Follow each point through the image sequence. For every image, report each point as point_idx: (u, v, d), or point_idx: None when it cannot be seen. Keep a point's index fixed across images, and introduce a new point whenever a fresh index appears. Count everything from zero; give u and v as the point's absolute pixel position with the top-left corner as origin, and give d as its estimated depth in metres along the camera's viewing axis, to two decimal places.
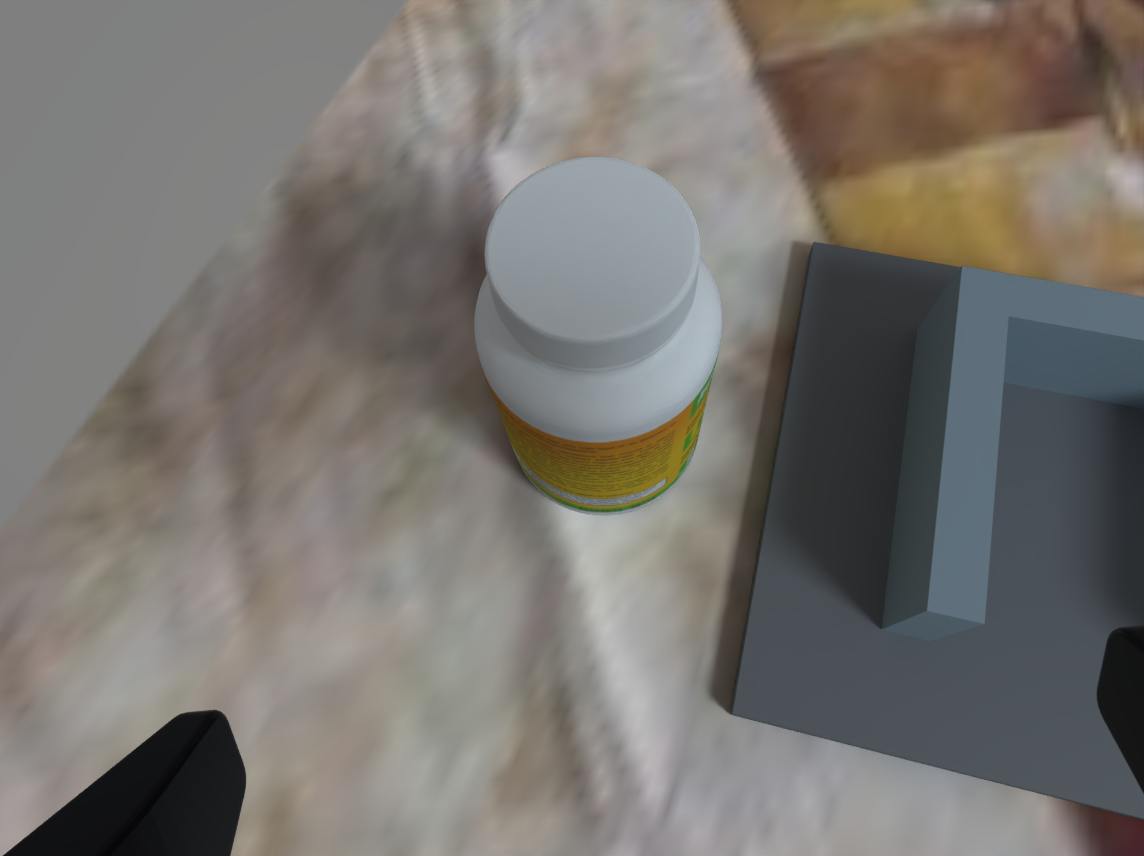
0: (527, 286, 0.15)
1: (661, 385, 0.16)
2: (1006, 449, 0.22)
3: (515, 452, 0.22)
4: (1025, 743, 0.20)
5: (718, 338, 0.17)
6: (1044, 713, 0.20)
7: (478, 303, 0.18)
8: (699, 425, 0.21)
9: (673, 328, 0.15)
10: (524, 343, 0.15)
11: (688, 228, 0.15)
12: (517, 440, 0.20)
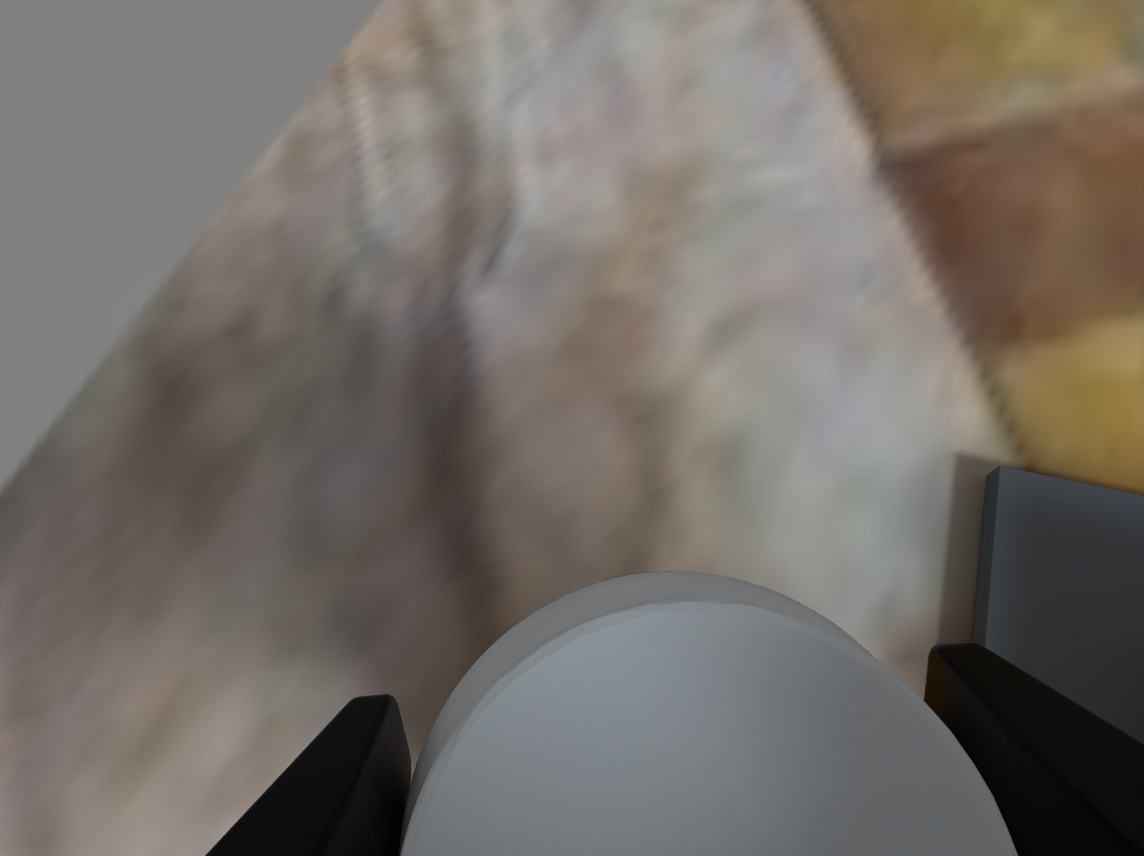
0: None
1: None
2: None
3: None
4: None
5: None
6: None
7: (406, 830, 0.08)
8: None
9: None
10: None
11: None
12: None
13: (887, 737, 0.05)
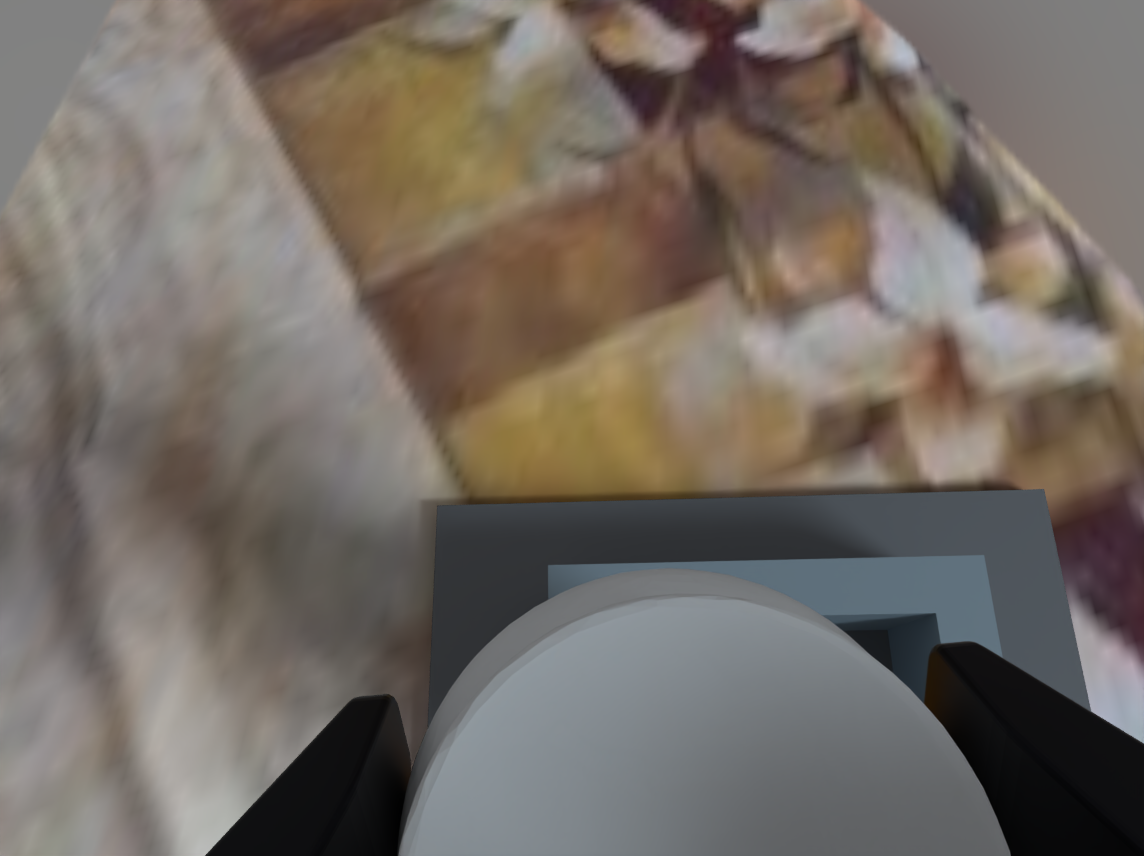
0: None
1: None
2: None
3: None
4: None
5: None
6: None
7: (405, 825, 0.08)
8: None
9: None
10: None
11: None
12: None
13: (880, 731, 0.05)
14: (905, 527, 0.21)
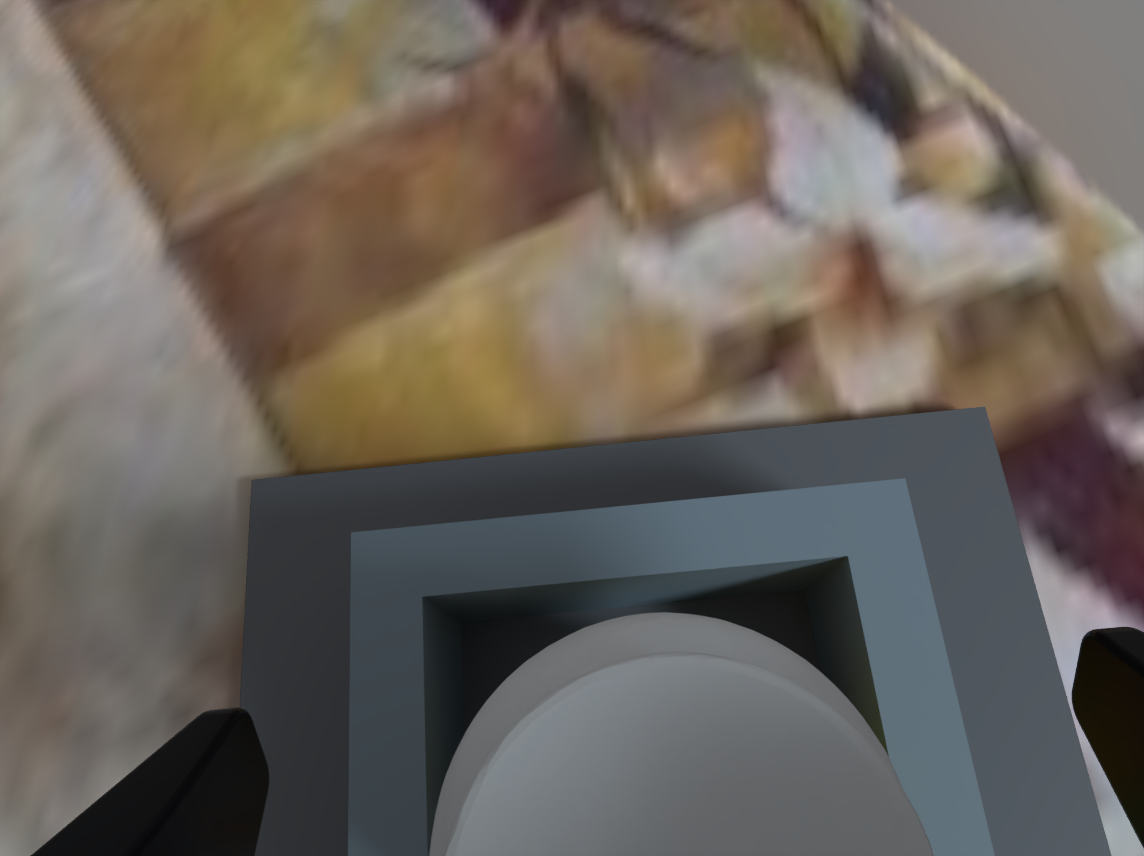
0: None
1: None
2: None
3: None
4: None
5: None
6: None
7: (436, 838, 0.09)
8: None
9: None
10: None
11: None
12: None
13: (835, 770, 0.07)
14: (821, 464, 0.17)
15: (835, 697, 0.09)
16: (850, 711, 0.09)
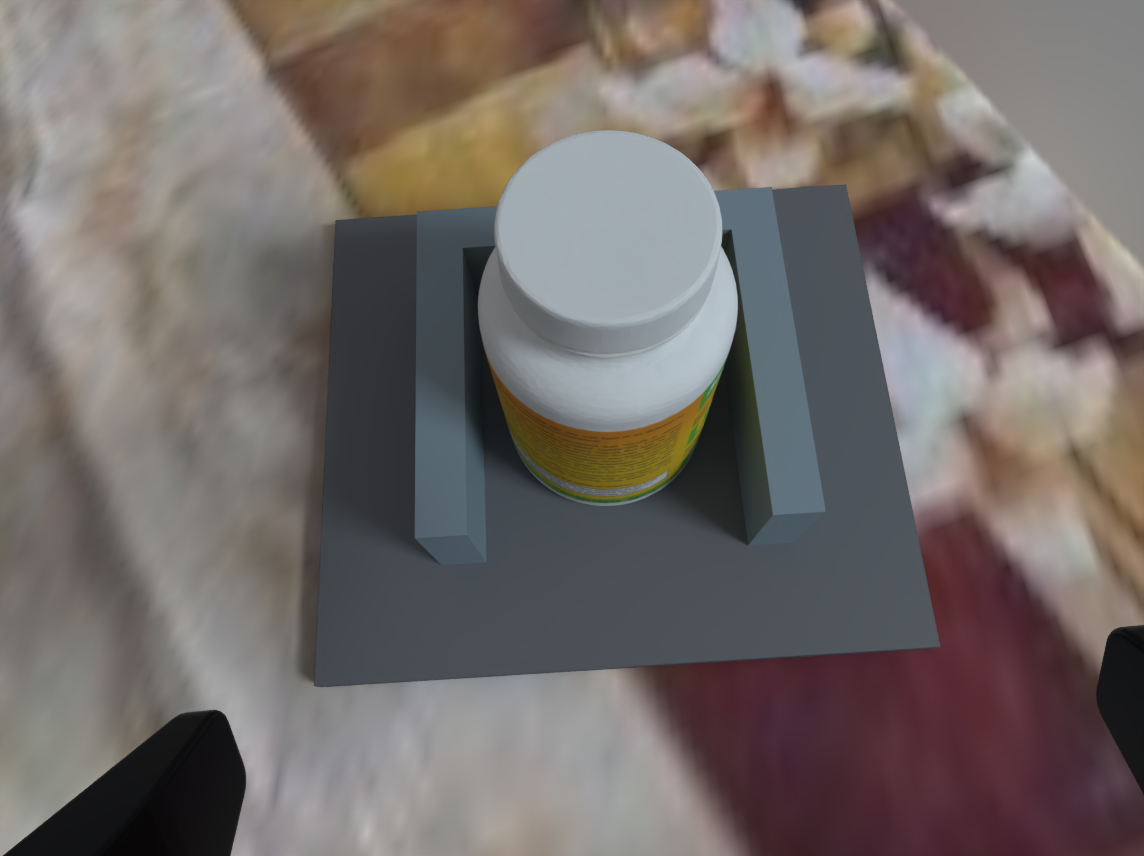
0: (538, 264, 0.14)
1: (672, 375, 0.16)
2: None
3: (513, 437, 0.21)
4: (581, 628, 0.21)
5: (733, 329, 0.16)
6: (594, 596, 0.22)
7: (483, 280, 0.17)
8: (705, 418, 0.20)
9: (689, 316, 0.14)
10: (531, 324, 0.15)
11: (710, 211, 0.14)
12: (516, 425, 0.19)
13: (677, 171, 0.14)
14: None
15: None
16: None
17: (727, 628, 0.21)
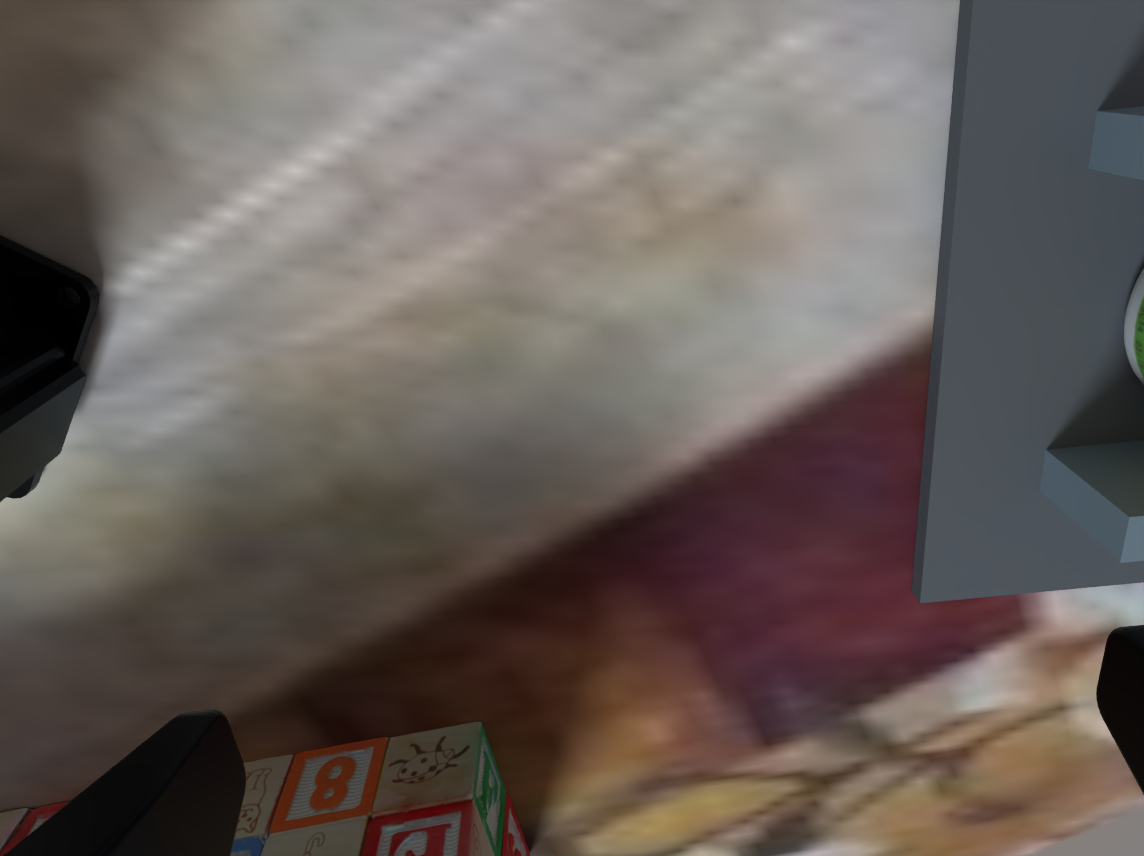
0: None
1: None
2: None
3: None
4: (991, 284, 0.19)
5: None
6: (1023, 297, 0.20)
7: None
8: None
9: None
10: None
11: None
12: None
13: None
14: None
15: None
16: None
17: (966, 429, 0.21)
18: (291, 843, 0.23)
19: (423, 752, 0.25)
